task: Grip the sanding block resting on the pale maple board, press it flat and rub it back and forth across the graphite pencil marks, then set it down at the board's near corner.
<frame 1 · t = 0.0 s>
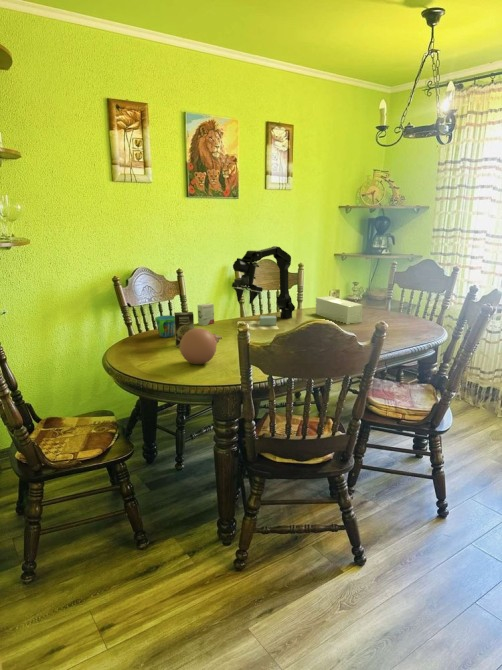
hand: (244, 302, 242), 15 cm above the table, tool pointing down, fingers open, 9 cm apart
coffee box: (185, 345, 219), on the table
snack cup: (166, 336, 235), on the table
maple board: (257, 327, 252), on the table
ink box: (206, 324, 261), on the table
stack of papers: (337, 318, 274), on the table
balloon: (203, 362, 193), on the table
sanding block: (267, 324, 252), point 1 cm above the table, touching maple board
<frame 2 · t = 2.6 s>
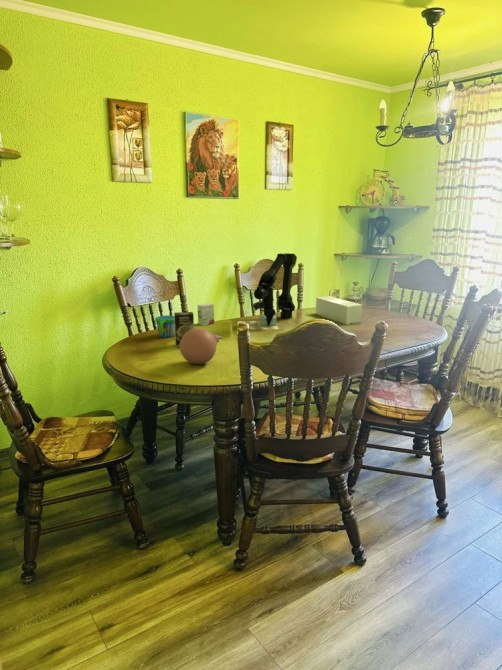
hand: (267, 323, 252), 2 cm above the table, tool pointing down, fingers closed on sanding block, 5 cm apart
sanding block: (267, 324, 252), point 2 cm above the table, touching gripper, maple board
everything else where it was.
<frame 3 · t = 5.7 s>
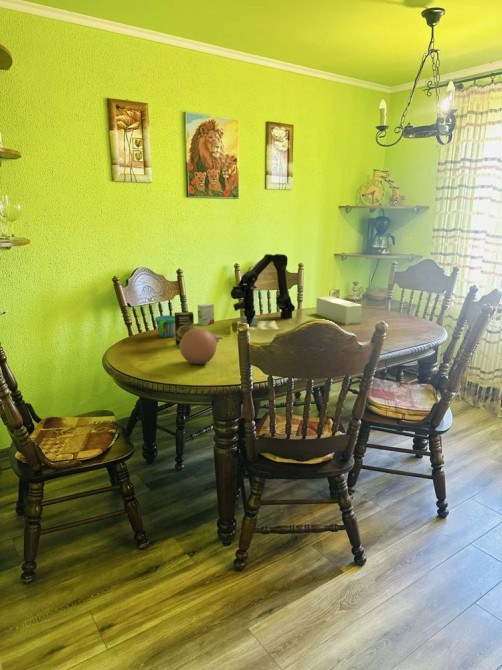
hand: (248, 324, 251), 2 cm above the table, tool pointing down, fingers closed on sanding block, 5 cm apart
sanding block: (248, 325, 251), point 2 cm above the table, touching gripper
everything else where it was.
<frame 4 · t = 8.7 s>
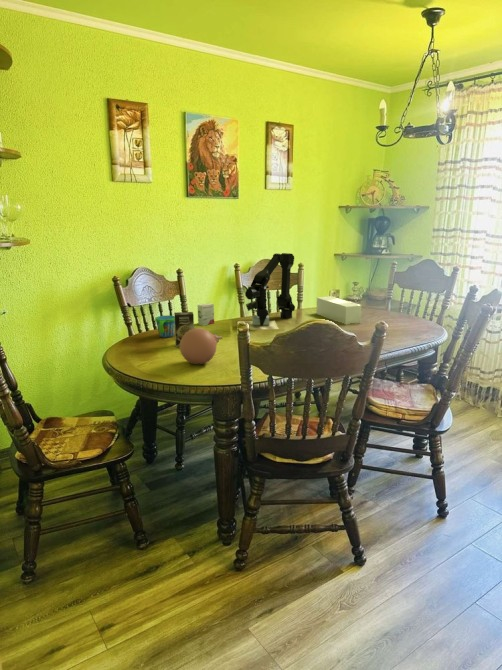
hand: (261, 324, 251), 2 cm above the table, tool pointing down, fingers closed on sanding block, 5 cm apart
sanding block: (260, 324, 251), point 2 cm above the table, touching gripper
everything else where it was.
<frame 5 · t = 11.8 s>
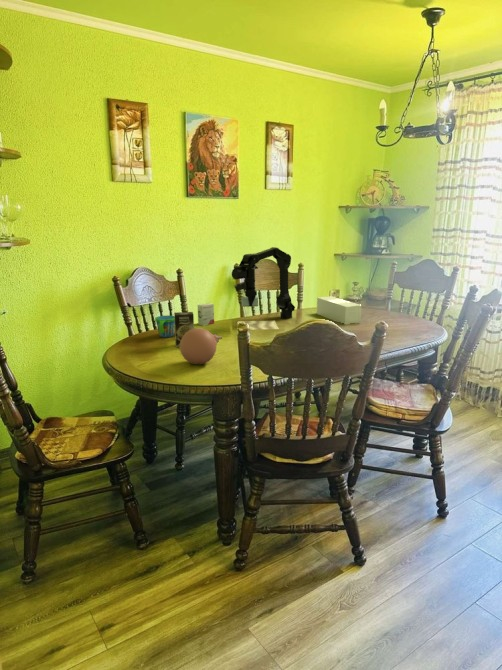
hand: (250, 305, 249), 13 cm above the table, tool pointing down, fingers closed on sanding block, 5 cm apart
sanding block: (249, 305, 249), point 13 cm above the table, touching gripper
everything else where it was.
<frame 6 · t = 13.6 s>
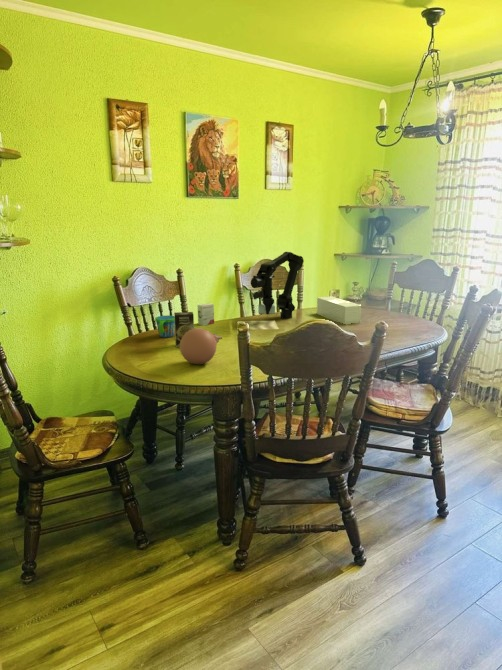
hand: (267, 313, 256), 7 cm above the table, tool pointing down, fingers closed on sanding block, 5 cm apart
sanding block: (266, 313, 256), point 7 cm above the table, touching gripper
everything else where it was.
when the fingers open (3 cm above the table, at t = 14.8 s): sanding block drops 1 cm, resting on maple board.
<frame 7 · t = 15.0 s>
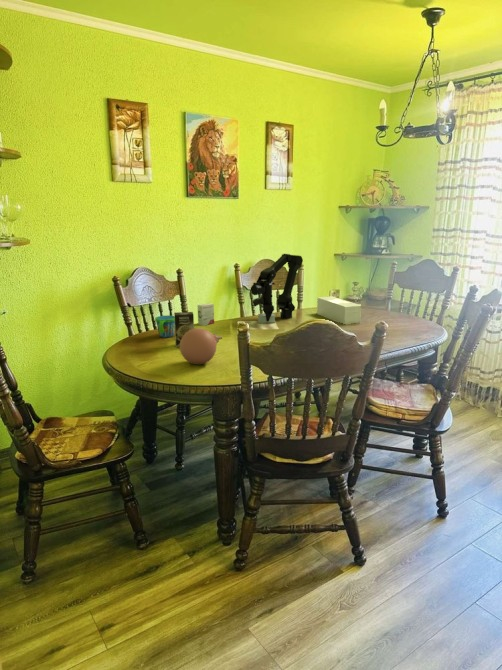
hand: (266, 319, 257), 3 cm above the table, tool pointing down, fingers open, 8 cm apart
sanding block: (266, 322, 257), point 1 cm above the table, touching maple board
everything else where it was.
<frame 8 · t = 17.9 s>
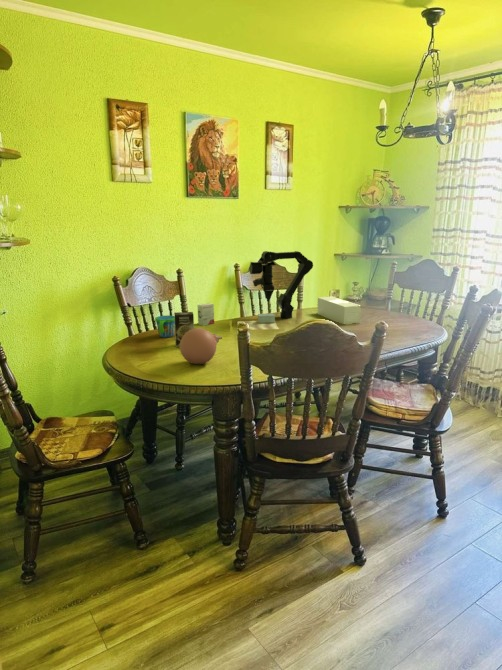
hand: (267, 300, 262), 13 cm above the table, tool pointing down, fingers open, 9 cm apart
at the end: sanding block 0.2 cm from the target spot on the maple board, point 1.5 cm above the maple board's base; sanding block tilted 0°; the gripper is holding nothing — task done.
